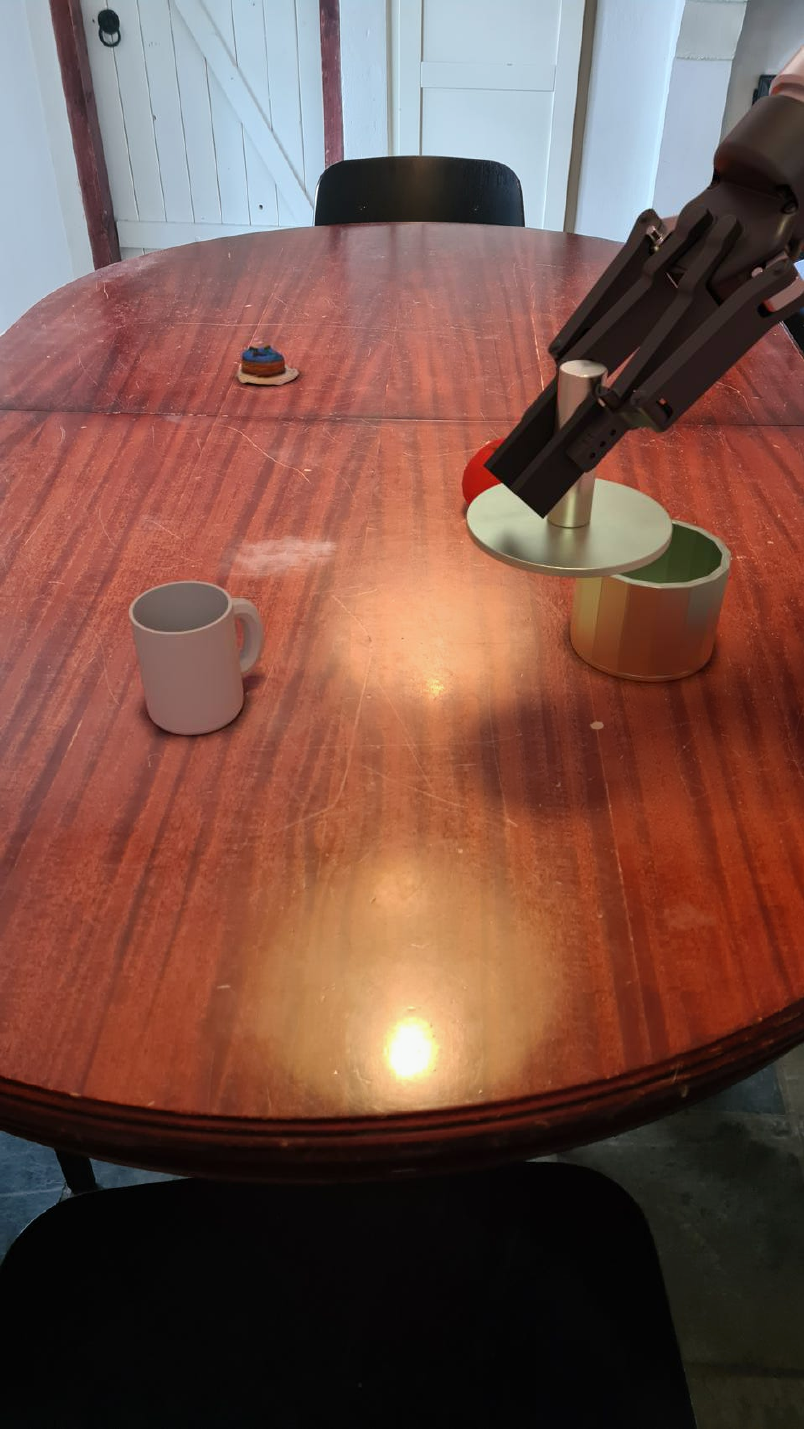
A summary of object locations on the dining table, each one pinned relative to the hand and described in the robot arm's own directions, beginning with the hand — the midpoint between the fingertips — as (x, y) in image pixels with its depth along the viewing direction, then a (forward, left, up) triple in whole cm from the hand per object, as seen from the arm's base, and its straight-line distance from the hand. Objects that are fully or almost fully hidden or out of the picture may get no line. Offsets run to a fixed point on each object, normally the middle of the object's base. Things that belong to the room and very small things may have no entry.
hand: (513, 491), depth 59 cm
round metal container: (+20, -7, -21) cm, 30 cm away
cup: (+2, +23, -21) cm, 31 cm away
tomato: (+40, +8, -21) cm, 46 cm away
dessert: (+69, +48, -21) cm, 86 cm away
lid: (+2, -3, -3) cm, 5 cm away
